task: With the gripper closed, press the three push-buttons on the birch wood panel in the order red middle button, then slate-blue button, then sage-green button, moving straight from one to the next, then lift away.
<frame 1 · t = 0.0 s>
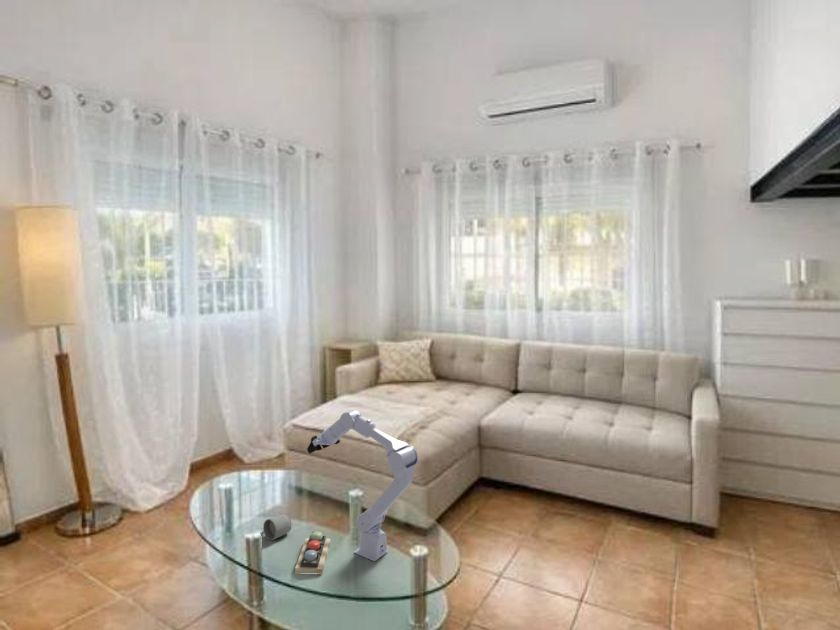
hand: (315, 448, 203), 32 cm above the table, tool tilted 50°, fingers open, 7 cm apart
ceramic mug: (274, 535, 200), on the table
sage green button: (316, 536, 191), point 4 cm above the table, slide at 0.0 cm
red button: (313, 546, 185), point 4 cm above the table, slide at 0.0 cm
button panel: (313, 558, 185), on the table
slate blue button: (310, 555, 178), point 4 cm above the table, slide at 0.0 cm
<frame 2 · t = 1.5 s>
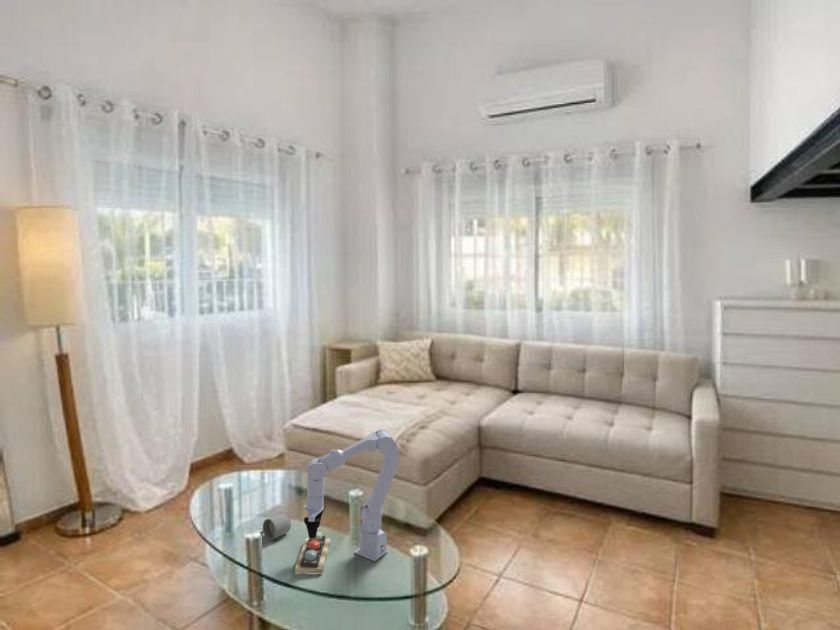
hand: (314, 532, 184), 9 cm above the table, tool pointing down, fingers open, 7 cm apart
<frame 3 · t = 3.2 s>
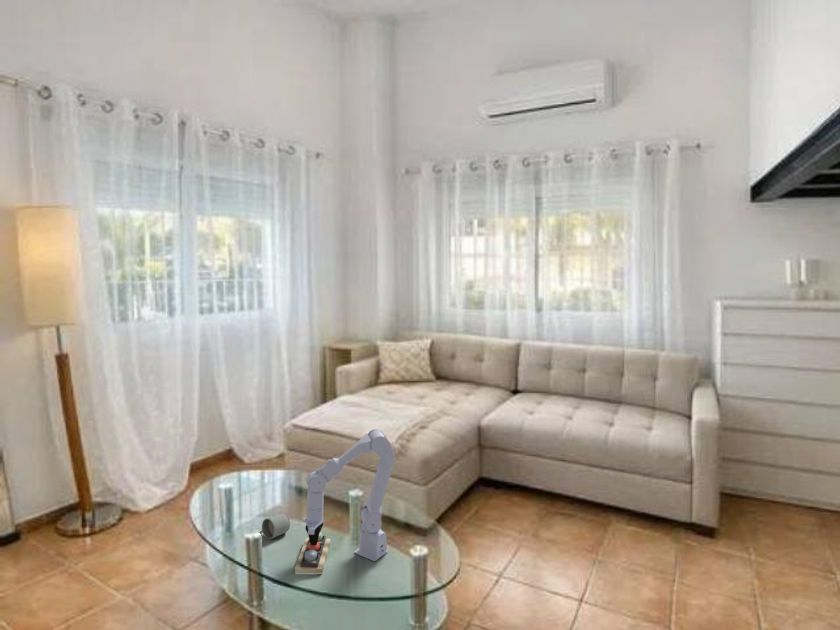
hand: (313, 544, 185), 5 cm above the table, tool pointing down, fingers closed, pressing on red button
red button: (313, 547, 185), point 4 cm above the table, slide at 0.4 cm, touching gripper
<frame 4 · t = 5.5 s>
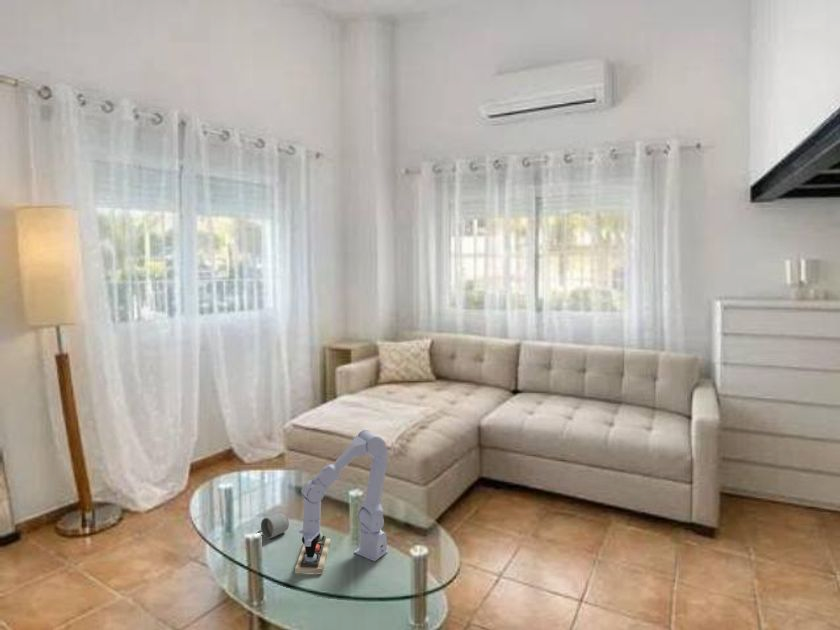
hand: (310, 556, 178), 4 cm above the table, tool pointing down, fingers closed, pressing on slate blue button
red button: (313, 548, 185), point 3 cm above the table, slide at 1.1 cm
slate blue button: (310, 558, 178), point 3 cm above the table, slide at 1.0 cm, touching gripper
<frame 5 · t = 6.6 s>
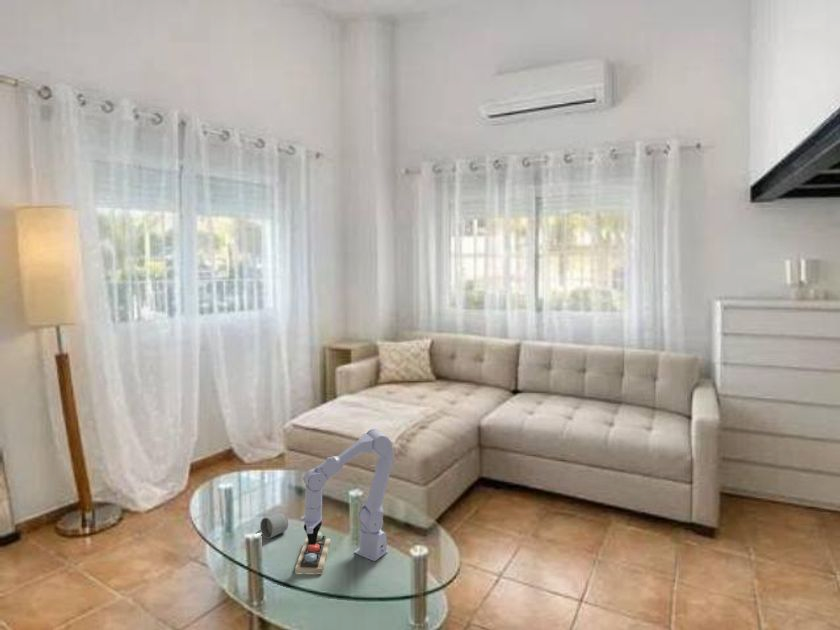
hand: (312, 543, 180), 7 cm above the table, tool pointing down, fingers closed
slate blue button: (310, 558, 178), point 3 cm above the table, slide at 1.1 cm
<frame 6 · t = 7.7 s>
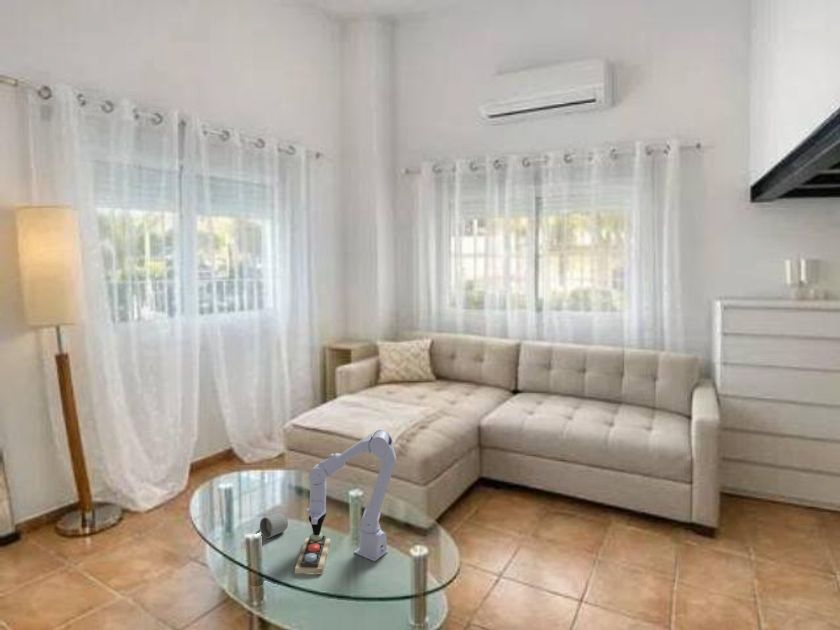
hand: (316, 534, 191), 5 cm above the table, tool pointing down, fingers closed, pressing on sage green button
sage green button: (316, 536, 191), point 4 cm above the table, slide at 0.0 cm, touching gripper
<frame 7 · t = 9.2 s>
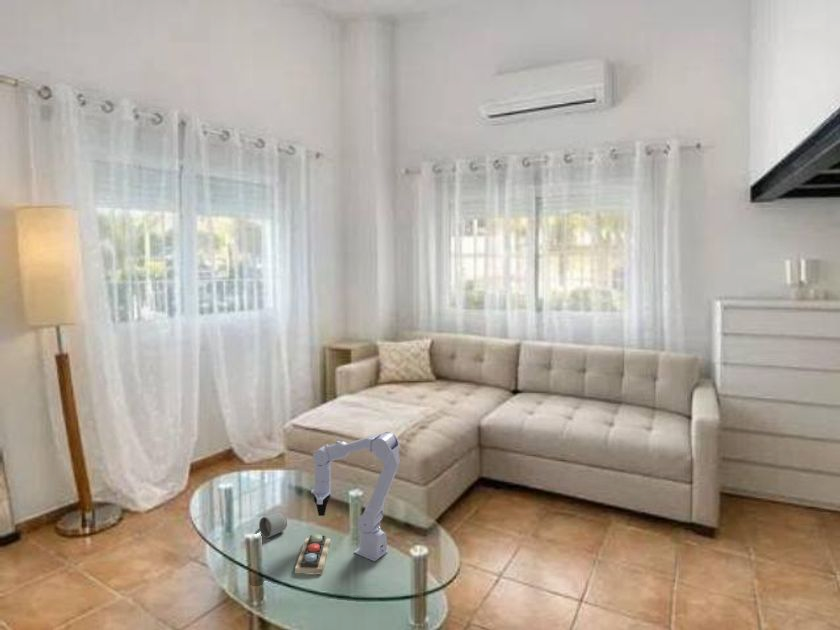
hand: (321, 514, 196), 10 cm above the table, tool pointing down, fingers closed
sage green button: (316, 539, 191), point 3 cm above the table, slide at 1.1 cm
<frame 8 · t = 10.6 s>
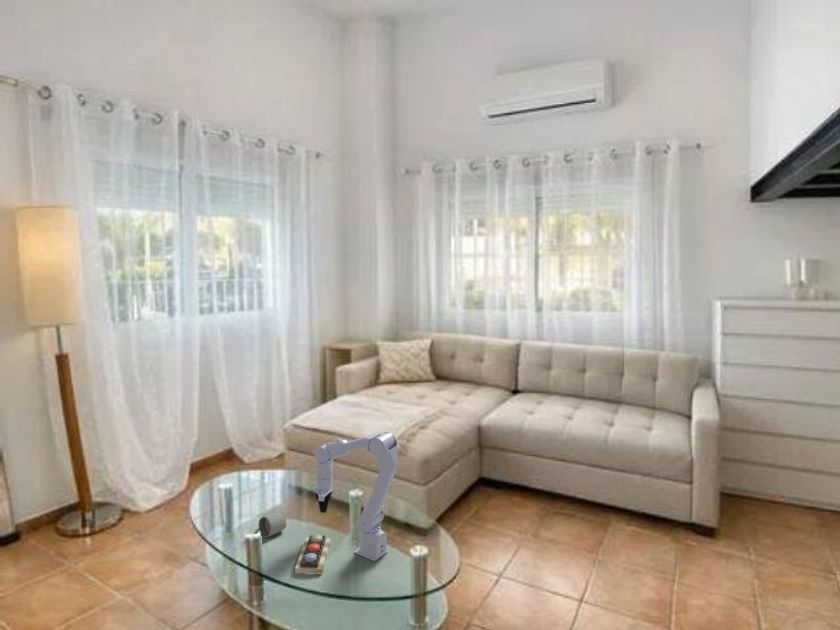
hand: (323, 511, 198), 10 cm above the table, tool pointing down, fingers closed
at the end: red button slide at 1.1 cm; slate blue button slide at 1.1 cm; sage green button slide at 1.1 cm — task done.
